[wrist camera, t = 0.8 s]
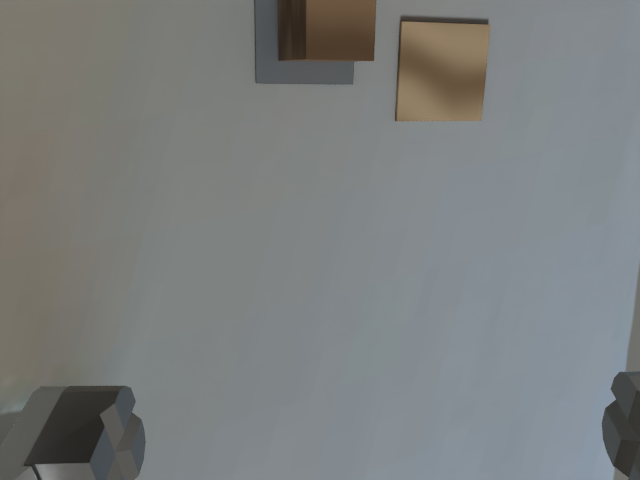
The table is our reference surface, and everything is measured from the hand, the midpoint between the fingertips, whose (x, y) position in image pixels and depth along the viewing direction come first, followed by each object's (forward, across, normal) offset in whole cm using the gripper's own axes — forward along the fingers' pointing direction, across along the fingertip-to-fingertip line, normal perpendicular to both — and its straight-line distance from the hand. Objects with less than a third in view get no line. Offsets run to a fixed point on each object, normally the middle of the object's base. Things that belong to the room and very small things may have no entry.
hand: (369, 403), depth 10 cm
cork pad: (+43, -8, +7) cm, 45 cm away
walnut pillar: (+41, +3, +2) cm, 41 cm away
